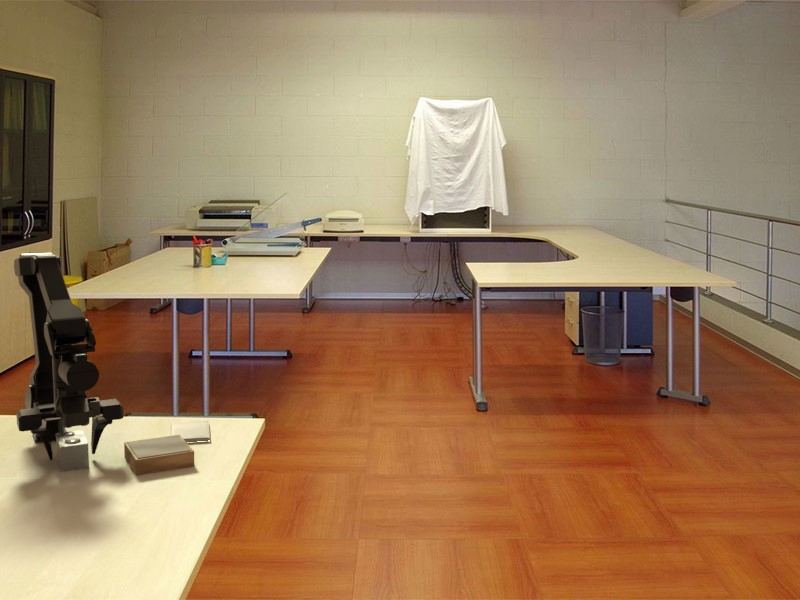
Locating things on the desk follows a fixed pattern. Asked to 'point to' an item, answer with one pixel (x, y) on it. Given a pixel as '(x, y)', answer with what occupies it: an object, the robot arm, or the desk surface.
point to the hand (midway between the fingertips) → (72, 456)
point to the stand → (158, 454)
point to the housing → (72, 450)
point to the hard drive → (191, 430)
